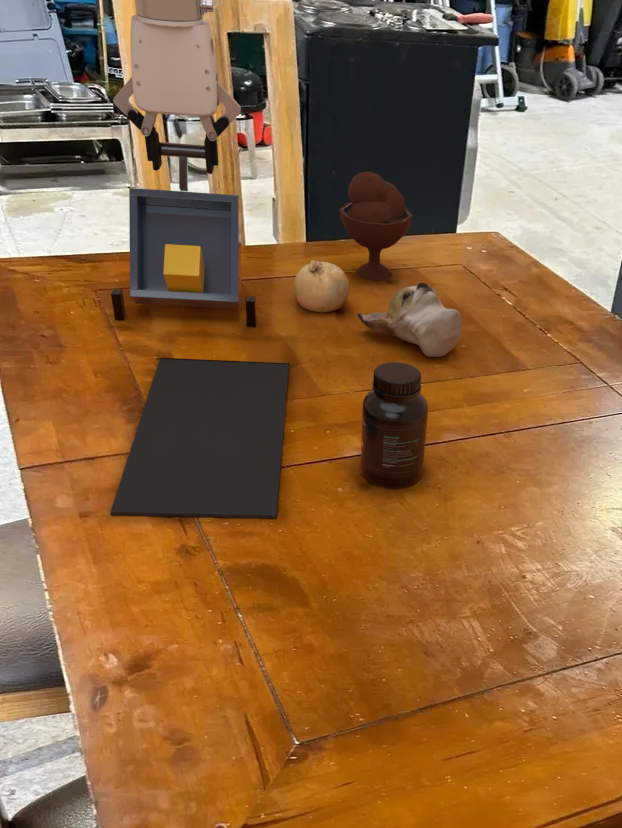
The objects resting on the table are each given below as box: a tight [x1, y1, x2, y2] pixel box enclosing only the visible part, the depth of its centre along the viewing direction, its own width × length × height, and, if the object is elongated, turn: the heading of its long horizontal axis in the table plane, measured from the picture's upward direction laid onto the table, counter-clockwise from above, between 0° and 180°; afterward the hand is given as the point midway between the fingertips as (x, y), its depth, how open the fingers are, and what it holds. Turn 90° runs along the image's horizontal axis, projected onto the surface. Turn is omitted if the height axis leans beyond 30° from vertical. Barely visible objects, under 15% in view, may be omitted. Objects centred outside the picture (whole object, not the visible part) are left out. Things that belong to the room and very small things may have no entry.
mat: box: [109, 357, 290, 519], centre depth 103 cm, size 16×42×1 cm, turn 6°
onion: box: [293, 259, 351, 313], centre depth 126 cm, size 8×8×7 cm
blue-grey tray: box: [128, 141, 242, 310], centre depth 118 cm, size 20×14×5 cm
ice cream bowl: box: [339, 171, 414, 282], centre depth 135 cm, size 11×11×15 cm
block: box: [163, 244, 205, 293], centre depth 117 cm, size 4×4×4 cm
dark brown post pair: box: [110, 288, 258, 328], centre depth 119 cm, size 2×18×4 cm, turn 96°
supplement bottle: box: [360, 361, 429, 489], centre depth 93 cm, size 7×7×12 cm
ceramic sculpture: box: [356, 282, 463, 358], centre depth 120 cm, size 11×9×15 cm
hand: (184, 167), depth 116 cm, fingers closed on blue-grey tray, 6 cm apart
